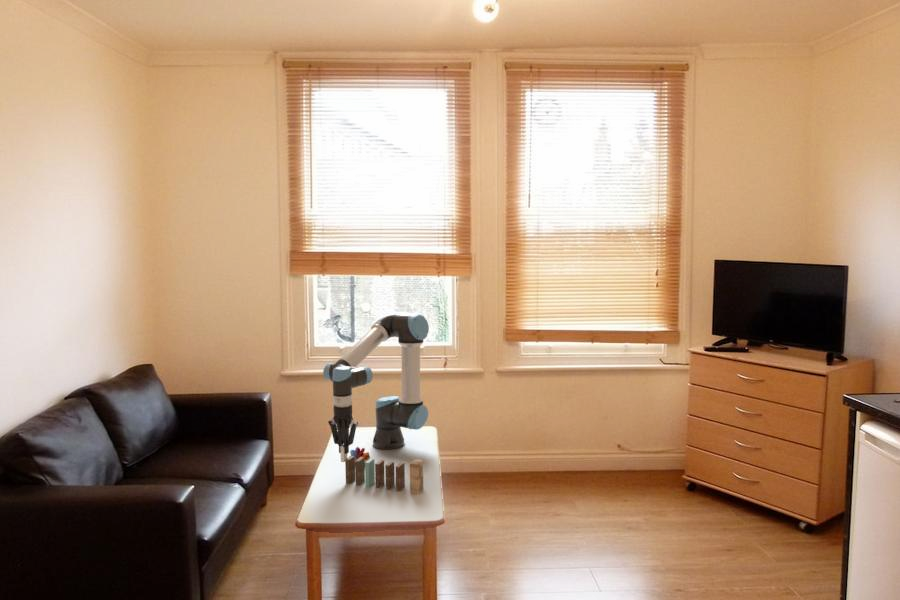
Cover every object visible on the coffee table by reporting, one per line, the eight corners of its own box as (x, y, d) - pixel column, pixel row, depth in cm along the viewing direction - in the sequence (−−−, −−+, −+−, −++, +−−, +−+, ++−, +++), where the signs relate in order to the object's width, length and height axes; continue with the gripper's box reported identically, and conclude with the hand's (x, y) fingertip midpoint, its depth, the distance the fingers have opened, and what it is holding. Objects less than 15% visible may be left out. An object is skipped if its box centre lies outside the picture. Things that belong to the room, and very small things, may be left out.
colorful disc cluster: (366, 467, 267) (366, 451, 266) (345, 465, 269) (345, 449, 268) (372, 460, 275) (372, 445, 275) (352, 459, 277) (352, 443, 277)
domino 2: (355, 484, 248) (355, 461, 247) (361, 480, 253) (361, 456, 252) (359, 485, 247) (358, 461, 246) (364, 480, 252) (364, 457, 251)
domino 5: (395, 491, 242) (395, 466, 241) (401, 486, 246) (400, 462, 245) (399, 491, 241) (399, 467, 240) (404, 486, 246) (404, 462, 245)
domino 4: (385, 489, 243) (385, 465, 242) (391, 484, 248) (390, 460, 247) (389, 490, 243) (388, 465, 242) (394, 485, 247) (394, 461, 246)
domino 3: (375, 487, 245) (375, 463, 244) (381, 483, 250) (380, 459, 249) (379, 488, 244) (378, 464, 243) (384, 483, 249) (384, 460, 248)
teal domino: (365, 486, 246) (365, 462, 245) (371, 481, 251) (370, 458, 250) (369, 486, 246) (368, 462, 245) (374, 482, 251) (374, 458, 250)
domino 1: (345, 483, 250) (345, 459, 248) (351, 478, 254) (351, 455, 253) (349, 484, 249) (348, 460, 248) (355, 479, 254) (354, 456, 253)
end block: (415, 488, 244) (414, 459, 243) (423, 489, 243) (422, 460, 242) (410, 493, 240) (409, 463, 238) (418, 494, 238) (417, 464, 237)
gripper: (323, 405, 248) (325, 462, 250) (352, 408, 243) (353, 466, 246) (333, 401, 255) (335, 455, 257) (361, 403, 250) (362, 459, 253)
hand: (344, 460), depth 252 cm, fingers closed
